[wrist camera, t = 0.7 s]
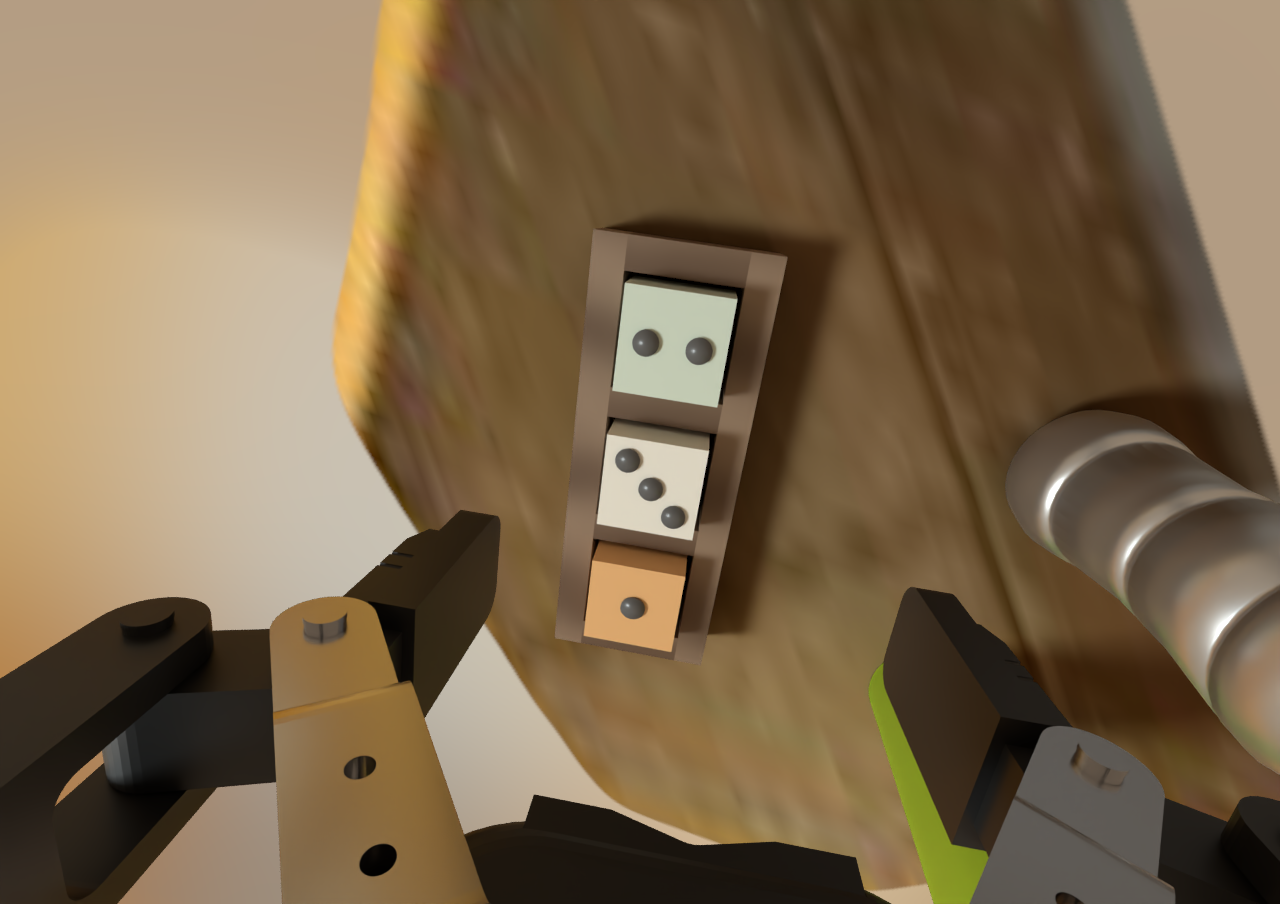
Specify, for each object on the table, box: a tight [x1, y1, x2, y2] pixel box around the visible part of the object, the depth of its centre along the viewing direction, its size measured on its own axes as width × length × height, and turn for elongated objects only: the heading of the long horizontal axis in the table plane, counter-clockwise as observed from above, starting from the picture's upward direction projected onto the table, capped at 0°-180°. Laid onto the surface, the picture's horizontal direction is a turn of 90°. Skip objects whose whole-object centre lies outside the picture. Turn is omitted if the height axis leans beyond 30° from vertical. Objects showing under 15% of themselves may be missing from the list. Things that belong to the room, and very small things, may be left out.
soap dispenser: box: [869, 663, 989, 904], centre depth 25 cm, size 6×7×20 cm
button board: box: [555, 228, 788, 665], centre depth 30 cm, size 21×8×2 cm, turn 173°
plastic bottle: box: [1005, 410, 1280, 775], centre depth 19 cm, size 6×7×20 cm
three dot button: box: [597, 418, 710, 540], centre depth 29 cm, size 4×4×3 cm
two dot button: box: [612, 276, 737, 407], centre depth 26 cm, size 4×4×3 cm
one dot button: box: [584, 540, 687, 652], centre depth 31 cm, size 4×4×3 cm
